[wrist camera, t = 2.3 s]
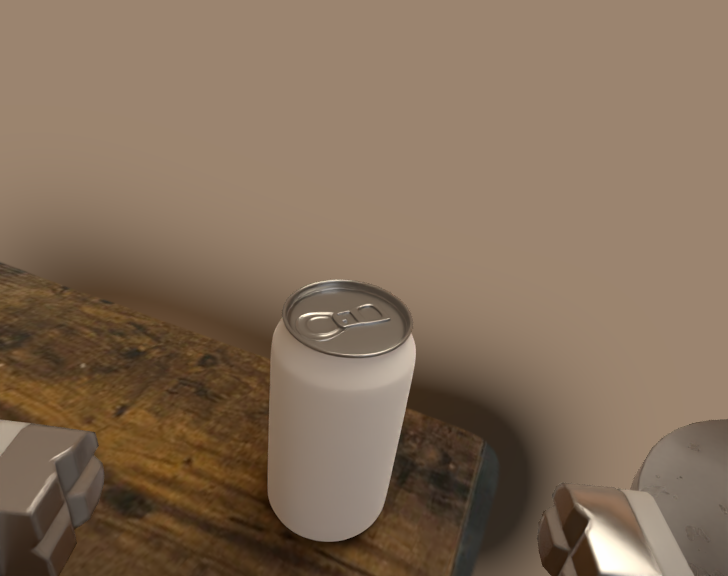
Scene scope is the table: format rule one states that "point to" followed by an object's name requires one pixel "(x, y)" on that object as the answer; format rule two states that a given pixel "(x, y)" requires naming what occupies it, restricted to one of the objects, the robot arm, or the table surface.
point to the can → (336, 406)
